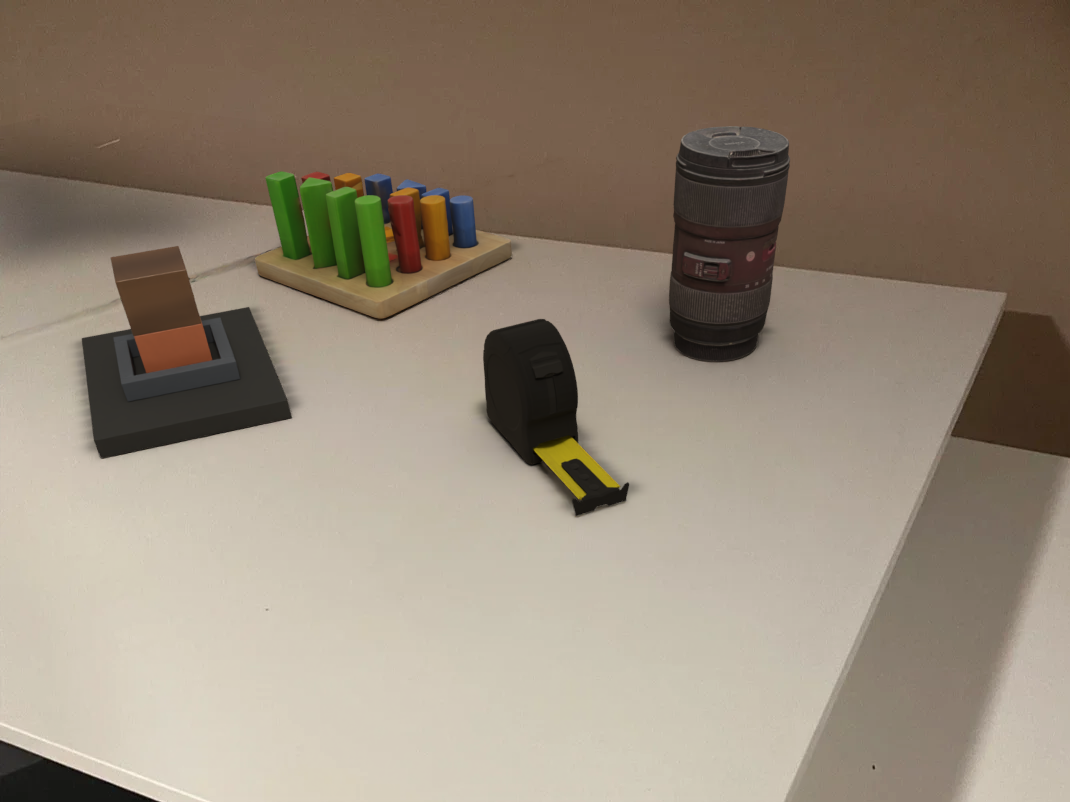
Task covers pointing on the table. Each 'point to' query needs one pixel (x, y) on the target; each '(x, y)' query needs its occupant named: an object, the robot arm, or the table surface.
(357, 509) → the table surface
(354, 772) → the table surface
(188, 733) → the table surface
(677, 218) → the camera lens
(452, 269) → the peg board
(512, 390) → the tape measure
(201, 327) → the orange block
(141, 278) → the brown block
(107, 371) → the black socket base
